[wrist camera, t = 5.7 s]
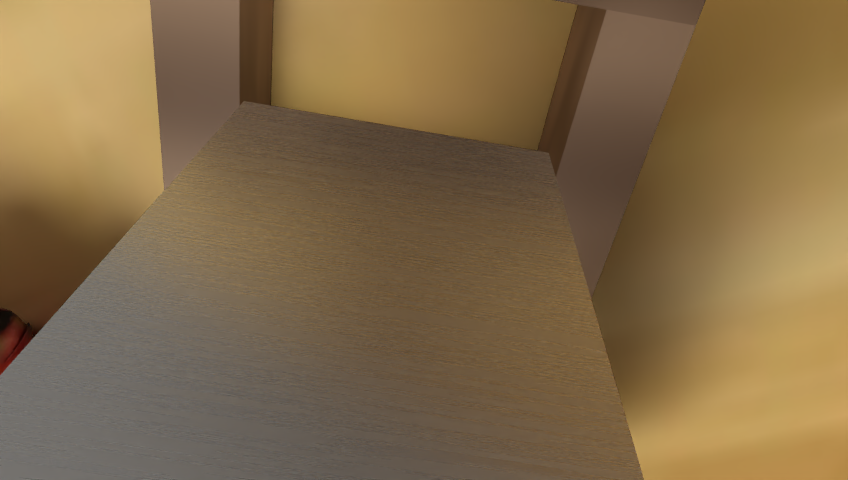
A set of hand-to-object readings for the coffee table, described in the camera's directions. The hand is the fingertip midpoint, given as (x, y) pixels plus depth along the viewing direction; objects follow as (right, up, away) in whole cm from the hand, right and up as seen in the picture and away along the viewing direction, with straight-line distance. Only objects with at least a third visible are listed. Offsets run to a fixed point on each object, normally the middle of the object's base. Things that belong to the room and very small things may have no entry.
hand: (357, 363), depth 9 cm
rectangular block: (0, +2, +2) cm, 3 cm away
